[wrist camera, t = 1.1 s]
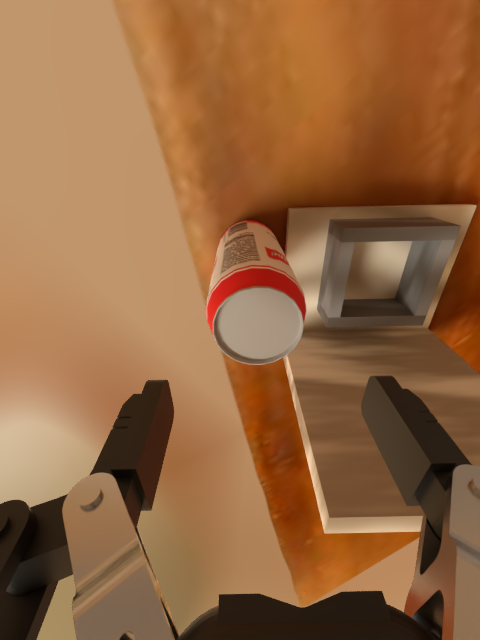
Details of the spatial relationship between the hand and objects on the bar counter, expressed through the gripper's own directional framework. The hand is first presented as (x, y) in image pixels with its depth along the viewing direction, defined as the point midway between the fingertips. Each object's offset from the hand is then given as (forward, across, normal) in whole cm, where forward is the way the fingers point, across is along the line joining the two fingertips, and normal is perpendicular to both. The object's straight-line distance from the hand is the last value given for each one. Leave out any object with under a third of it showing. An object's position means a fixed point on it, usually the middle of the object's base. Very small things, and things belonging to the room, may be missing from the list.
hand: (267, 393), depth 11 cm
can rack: (+21, -13, +4) cm, 25 cm away
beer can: (+21, 0, 0) cm, 21 cm away
